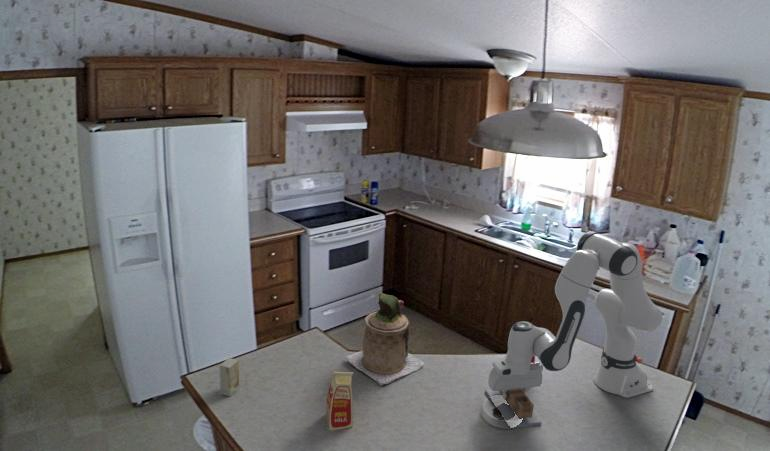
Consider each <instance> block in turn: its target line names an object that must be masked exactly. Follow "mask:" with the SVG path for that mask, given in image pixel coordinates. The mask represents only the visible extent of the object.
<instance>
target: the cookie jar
mask: <svg viewBox="0 0 770 451" xmlns="http://www.w3.org/2000/svg"><path fill="white" fill-rule="evenodd" d="M404 304H405V303H404V301H403V300H401V299H398V297H396V296H394V295H391V294H386V293H383V292H379V293H378V307H379V310H377V311H374V312H371V313H369V314H367V315H366V316H365V318H364V325H365V330H364V337H363V341H362V350H359V351H358V352H355V353H352V354H351V353H350V354H348V355H347V354H346V356H345V359H346V363H347V362H348V363H349V364H350V365H352V366H353V367H354V368H355V369H357V370H358V371H361V372H362V373H364V375H366V376H367V377H369V378H371V379H372V380H374V381H375V383H377V384H379V385H380V386H383V385H389V384H391V383H392V382H394V381H395V380H399V379H401V378H403V377H405V376H407V375H409V374H412V373H413V372H416V371H419V370H420V369H421V368H423V367H424V366H425V363H424V361H423V360H421V358H418V357H416V356H414V355H412V354H411V353H409V352H408V349H409V339H410V335H411V330H410V321H409V319H408V318H407V316H406V315H405V314H402V313H401V310H403V309H404Z"/></svg>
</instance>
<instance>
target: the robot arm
mask: <svg viewBox="0 0 770 451" xmlns="http://www.w3.org/2000/svg"><path fill="white" fill-rule="evenodd" d="M640 254H641V253H640V251H639V249H638V247H637V246H636V245H635V244H633V243H631V242H620V241H619V240H617V239H615V238H613V237H609V236H608V235H605V234H603V233H601V232H597V231H593V230H590V231H588V232H587V231H586V233H584V234H582V235H581V237H580V238H579V239H578V243H577V246H576V251H575V252H573V253H572V255H571V256H570V258H569V259H568V260H567V261H566V263H565V264H564V266H563V268H562V270H561V272H560V273H559V276H557V277H558V278H557V279H556V282H555V286H554V293H555V296H556V298H557V300H558V301H559V302H558V303H559V305H560V307H561V311H562V321H561V323H560V326H559V328H558V330H557V333H556V336H555V335H554V334H553V333H552V332H551V331H550V330H549V329H548V328H546V327H538V326H535V325H533V323H531V322H530V321H517V322H515V323H514V324H513V325H512V327H511V329H510V331H509V334H508V335H509V336H508V339H507V340H508V341H507V352H506V355H505V356H503V357H501V358H499V359H497V360H494V361H493V362H492V369H490V372H489V374H488V375H489V376H488V382H487V385H488V388H489V389H491V390H492V391H501V390H502V392H503V398H504V399H508V397H509V395H508V394H507V390H510V389H519V388H520V389H521V390H522V391H523V392H524V394H525V395H526V393H527V392H528V391H529V388H537V387H541V385H542V384H543V370H544V369H545V370H547V371H550V372H558V371H562V370H563V369H565V368H566V367H567V366H568V365H569V364H570V361H571V358H572V352H573V351H572V350H573V347H574V345H575V344H574V343H575V342H576V338H577V336H578V333H579V331H580V327H581V326H582V323H583V319H584V317H585V313H586V301H587V297H588V295H589V292H590V290H591V288H592V285H593V284H594V281H595V279H596V277H597V274H598V271H599V270H600V269H603V270H604V271H605V270H606V271H608V272H609V284H610V288H603V289H601V290H600V291H599V292H598V293H597V294H596V295H595V298H594V306H595V309H596V310H597V312H598V313H599V314H600V315H601V318H602V320H603V322H604V326H605V341H604V347H603V349H602V352H601V357H600V358H601V360H600V364H599V366H598V368H597V371H596V374H595V376H594V378H593V381H594V383H595V384H596V386H597V387H598V388H600V389H601V390H603V391H605V392H608V393H610V394H614V395H618V396H619V397H620V396H621V397H622V398H626V399H628V398H632V397H635V396H640V395H641V394H646V393H649V392H652V391H653V390H654V389H653V388H654V387H653V385H652V383H651V382H650V381H649V379H648V374H647V371H645V370H644V369H643V367H642V366H641V365H639V364H642V363H643V358H641V357H640V356H636V354H635V352H636V348H637V343H638V340H637V337H636V335H635V333H634V332H633V331H632V329H631V327H632V328H634V329H635V330H639V331H643V332H647V333H653V332H655V331H656V330H658V328H660V326H661V325H662V323H663V313H662V310H661V309H660V308H659V307H658V306H656V304H655V303H654V302H653V301H652V300H651V298H650V297H649V295H648V293H647V292H646V290H645V287H644V281H643V265H642V259H641V255H640ZM533 356H535V357H537V359H538V360H539V362H535V363H531V358H532V357H533ZM505 392H506V393H505Z"/></svg>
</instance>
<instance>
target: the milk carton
mask: <svg viewBox="0 0 770 451" xmlns="http://www.w3.org/2000/svg"><path fill="white" fill-rule="evenodd" d="M354 373H355V372H354V371H349V372H346V371H345V372H341V371H333V375H332V378H331V381H330V385H329V387H328V390H327V397H326V400H325V401H326V402H325V410H326V411H325V414H326V415H325V416H326V420H327V424H328V429H329V431H337V430H342V429H343V430H344V429H348V428H349V429H350V428H353V426H354V425H353V424H354V423H353V422H354V406H353V403H354V401H353V399H354V398H353V391H352V379H353V378H352V377H353V374H354Z"/></svg>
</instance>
